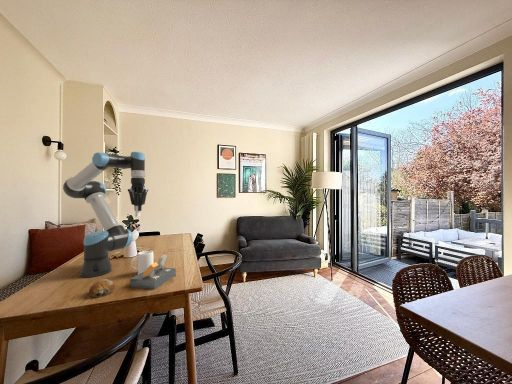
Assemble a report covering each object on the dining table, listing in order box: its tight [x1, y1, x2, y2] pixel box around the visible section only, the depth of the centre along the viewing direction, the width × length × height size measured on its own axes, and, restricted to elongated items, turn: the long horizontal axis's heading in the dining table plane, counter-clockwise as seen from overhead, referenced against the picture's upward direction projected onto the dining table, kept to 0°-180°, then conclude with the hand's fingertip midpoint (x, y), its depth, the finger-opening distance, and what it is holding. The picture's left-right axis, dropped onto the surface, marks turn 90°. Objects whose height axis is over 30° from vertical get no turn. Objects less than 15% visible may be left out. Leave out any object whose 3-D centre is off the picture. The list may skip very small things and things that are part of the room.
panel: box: [129, 253, 177, 290], centre depth 119 cm, size 14×18×12 cm
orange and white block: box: [141, 261, 158, 278], centre depth 114 cm, size 2×5×8 cm
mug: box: [130, 250, 154, 275], centre depth 130 cm, size 12×8×12 cm
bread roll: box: [88, 278, 116, 298], centre depth 105 cm, size 10×10×8 cm
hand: (138, 216), depth 136 cm, fingers closed
